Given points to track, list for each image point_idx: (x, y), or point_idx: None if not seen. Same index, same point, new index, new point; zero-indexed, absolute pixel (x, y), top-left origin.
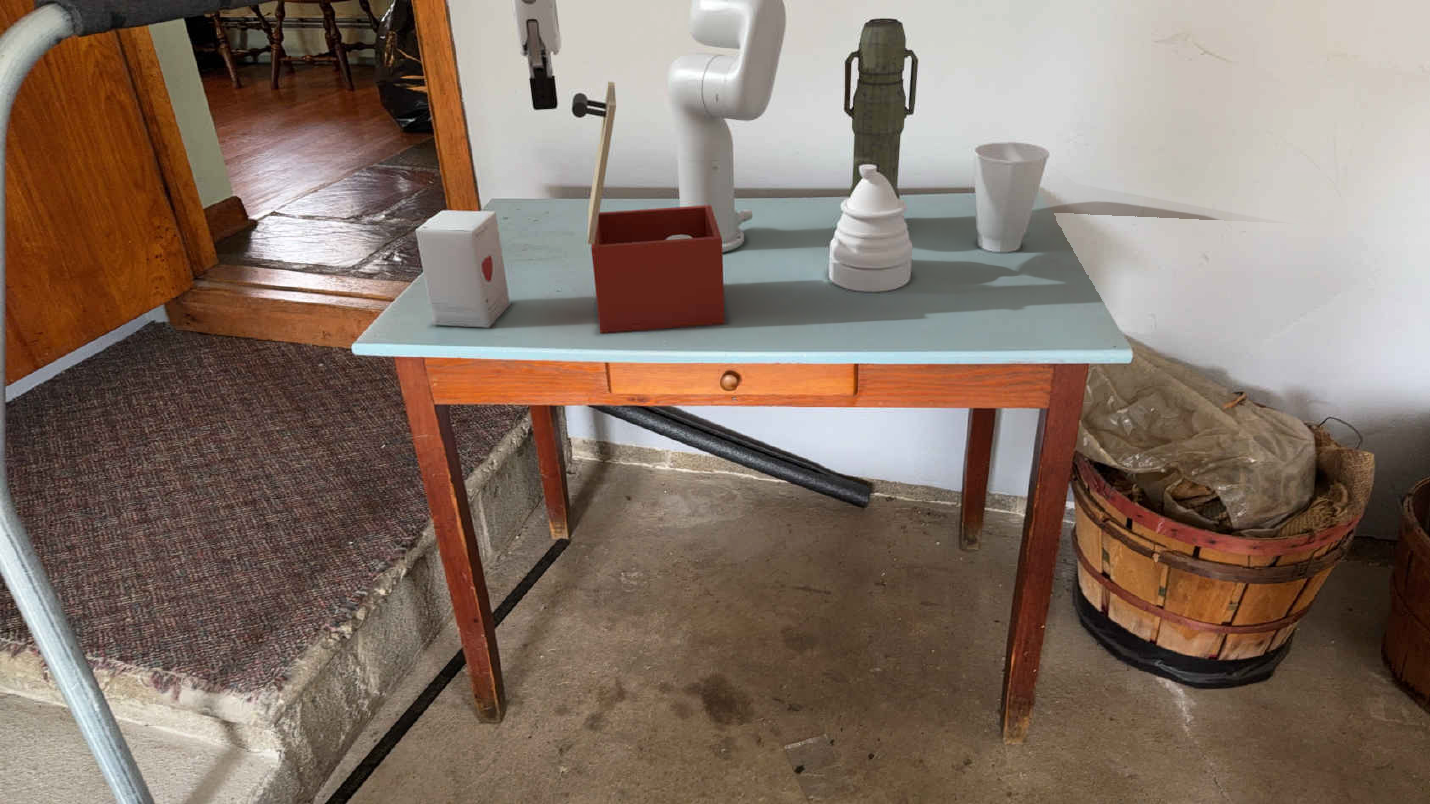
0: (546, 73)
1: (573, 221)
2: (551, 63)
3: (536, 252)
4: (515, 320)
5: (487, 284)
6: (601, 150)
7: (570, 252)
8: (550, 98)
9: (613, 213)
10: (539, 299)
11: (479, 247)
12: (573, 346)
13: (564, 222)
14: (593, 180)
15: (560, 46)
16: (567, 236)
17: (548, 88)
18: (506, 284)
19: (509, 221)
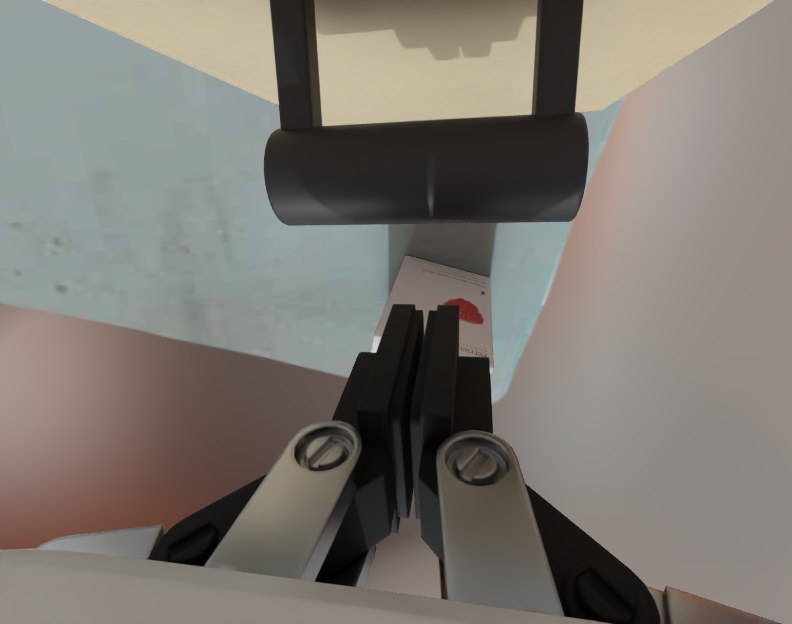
0: (535, 500)
1: (41, 176)
2: (293, 488)
3: (193, 230)
4: (467, 241)
5: (474, 301)
6: (685, 22)
7: (186, 171)
8: (457, 359)
9: None
10: None
11: (480, 340)
12: (598, 137)
13: (50, 192)
14: (324, 108)
15: (225, 596)
16: (114, 182)
17: (490, 406)
18: (402, 269)
19: (71, 282)
